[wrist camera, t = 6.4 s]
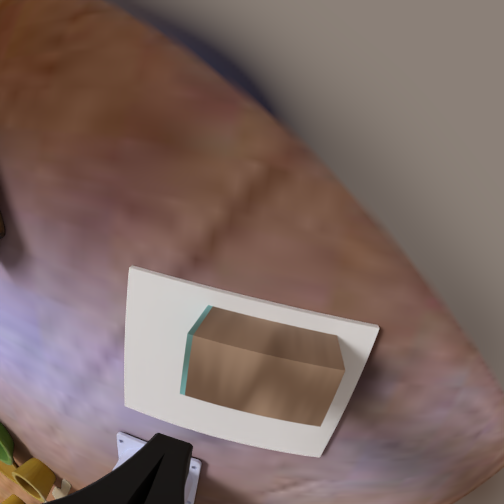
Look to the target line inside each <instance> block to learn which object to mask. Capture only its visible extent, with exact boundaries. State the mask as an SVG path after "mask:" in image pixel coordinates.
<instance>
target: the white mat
mask: <svg viewBox="0 0 504 504" xmlns="http://www.w3.org/2000/svg"><path fill="white" fill-rule="evenodd" d="M208 305H210V306H214V307H218V308H222V309H225V310H229V311H233V312H237V313H241V314H245V315H249V316H253V317H257V318H261V319H266V320H270V321H274V322H278V323H283V324H287V325H291V326H296V327H300V328H305V329H309V330H314V331H319V332H323V333H328V334H333V335H337V337H338V341H339V345H340V349H341V354H342V358H343V362H344V367H345V373H344V375H343V378H342V380H341V383H340V385H339V387H338V390H337V392H336V394H335V396H334V399H333V401H332V403H331V405H330V408H329V410H328V412H327V414H326V416H325V418H324V420H323V423H322V425H321V427H318V426H312V425H306V424H300V423H294V422H289V421H284V420H279V419H274V418H269V417H264V416H260V415H255V414H251V413H247V412H243V411H239V410H235V409H231V408H227V407H223V406H219V405H216V404H212V403H209V402H205V401H202V400H198V399H195V398H192V397H188V396H185V395H182V394H180V386H181V378H182V370H183V362H184V354H185V347H186V340H187V333H188V332H189V331H190V329H191V328H192V326H193V325H194V324H195V322H196V321H197V320H198V318H199V317H200V315H201V314H202V313H203V311H204V310H205V309H206V307H207V306H208ZM379 329H380V328H379V326H378V325H375V324H370V323H365V322H360V321H356V320H351V319H346V318H341V317H337V316H332V315H327V314H323V313H318V312H314V311H309V310H305V309H301V308H296V307H292V306H287V305H283V304H279V303H275V302H270V301H266V300H262V299H258V298H254V297H250V296H246V295H242V294H238V293H234V292H230V291H226V290H222V289H218V288H214V287H210V286H206V285H202V284H199V283H195V282H191V281H187V280H184V279H180V278H176V277H172V276H169V275H165V274H162V273H158V272H154V271H151V270H147V269H144V268H140V267H137V266H131V267H129V277H128V289H127V304H126V322H125V354H124V391H125V406H126V407H129V408H131V409H134V410H136V411H139V412H141V413H144V414H147V415H149V416H152V417H155V418H157V419H160V420H163V421H166V422H169V423H172V424H175V425H178V426H181V427H184V428H187V429H190V430H194V431H197V432H200V433H204V434H207V435H211V436H214V437H218V438H222V439H226V440H230V441H234V442H238V443H242V444H246V445H251V446H255V447H260V448H265V449H270V450H275V451H281V452H286V453H292V454H298V455H305V456H312V457H319V458H320V456H321V454H322V452H323V450H324V449H325V447H326V445H327V443H328V441H329V439H330V438H331V436H332V434H333V432H334V430H335V428H336V426H337V424H338V422H339V420H340V418H341V416H342V414H343V412H344V410H345V408H346V406H347V404H348V402H349V400H350V397H351V395H352V393H353V391H354V389H355V387H356V384H357V382H358V380H359V378H360V375H361V373H362V371H363V368H364V366H365V364H366V361H367V359H368V356H369V354H370V352H371V349H372V347H373V344H374V342H375V339H376V336H377V334H378V331H379Z"/></svg>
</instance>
